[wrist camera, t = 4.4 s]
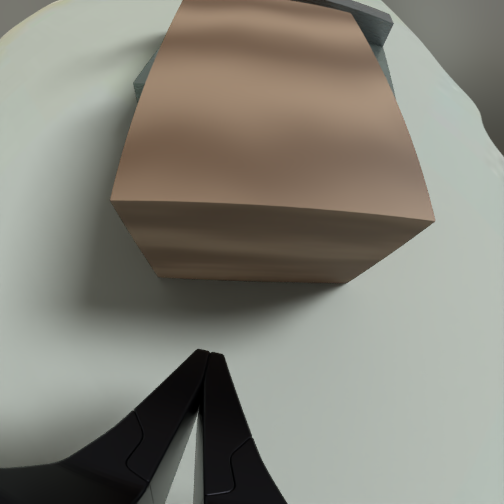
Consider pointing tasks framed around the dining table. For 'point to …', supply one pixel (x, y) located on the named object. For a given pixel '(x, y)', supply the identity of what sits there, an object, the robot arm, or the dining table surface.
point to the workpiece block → (268, 149)
